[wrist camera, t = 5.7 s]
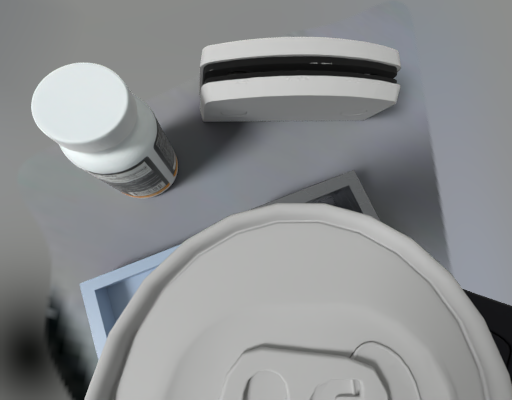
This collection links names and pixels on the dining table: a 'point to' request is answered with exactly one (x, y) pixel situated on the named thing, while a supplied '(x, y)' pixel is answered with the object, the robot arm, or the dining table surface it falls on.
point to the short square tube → (334, 194)
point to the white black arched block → (297, 80)
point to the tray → (115, 294)
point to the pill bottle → (105, 129)
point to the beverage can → (300, 318)
